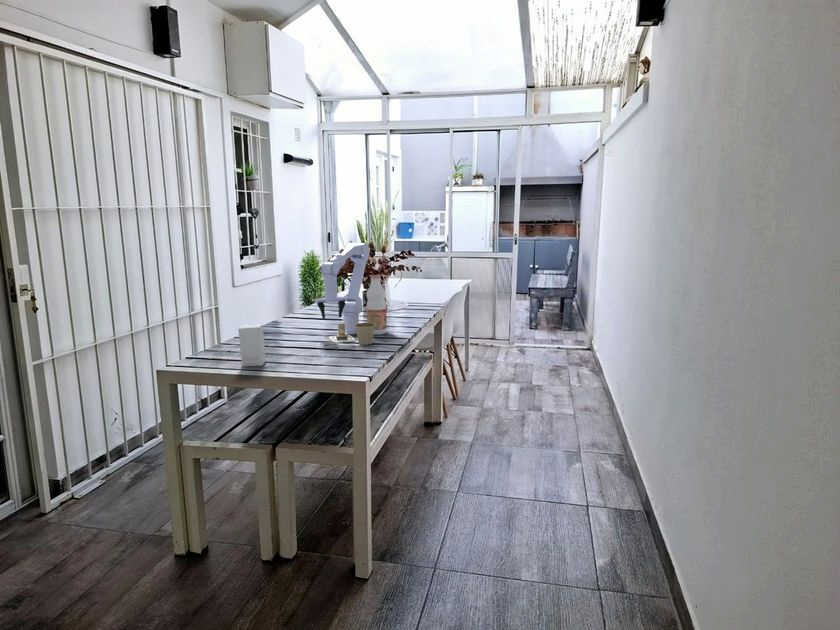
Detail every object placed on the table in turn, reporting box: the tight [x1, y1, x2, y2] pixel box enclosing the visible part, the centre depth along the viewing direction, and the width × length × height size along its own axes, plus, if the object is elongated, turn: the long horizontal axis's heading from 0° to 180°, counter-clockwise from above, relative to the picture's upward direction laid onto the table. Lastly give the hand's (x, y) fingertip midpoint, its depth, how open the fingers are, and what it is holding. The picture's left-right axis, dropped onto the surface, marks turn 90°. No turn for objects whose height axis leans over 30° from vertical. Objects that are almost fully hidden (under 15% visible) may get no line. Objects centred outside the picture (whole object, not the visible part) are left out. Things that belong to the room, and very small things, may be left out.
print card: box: [328, 334, 357, 344], centre depth 262 cm, size 11×10×1 cm
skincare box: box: [237, 323, 267, 367], centre depth 222 cm, size 8×7×16 cm
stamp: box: [335, 322, 348, 340], centre depth 261 cm, size 5×5×7 cm
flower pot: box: [354, 322, 376, 346], centre depth 254 cm, size 9×9×9 cm
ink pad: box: [320, 341, 339, 349], centre depth 251 cm, size 7×7×1 cm
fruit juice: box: [366, 274, 388, 336], centre depth 272 cm, size 9×9×28 cm
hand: (331, 317), depth 260 cm, fingers open, 7 cm apart
